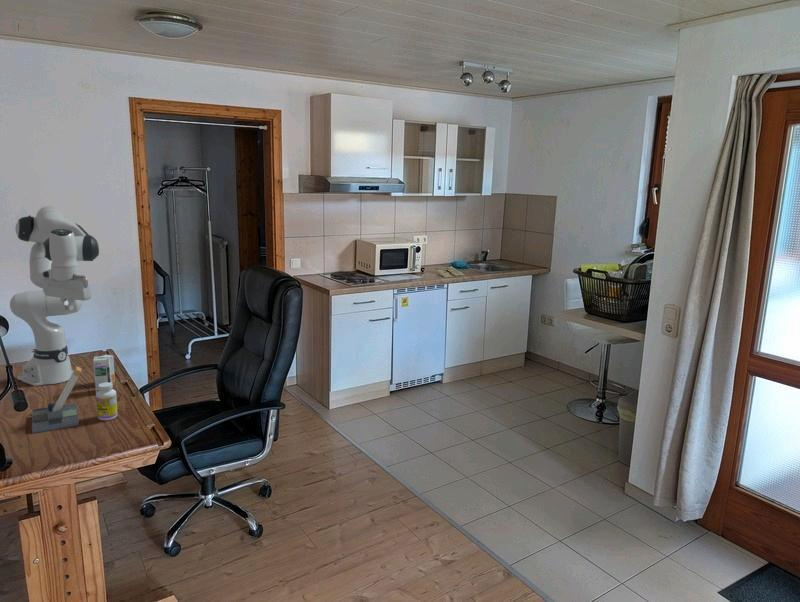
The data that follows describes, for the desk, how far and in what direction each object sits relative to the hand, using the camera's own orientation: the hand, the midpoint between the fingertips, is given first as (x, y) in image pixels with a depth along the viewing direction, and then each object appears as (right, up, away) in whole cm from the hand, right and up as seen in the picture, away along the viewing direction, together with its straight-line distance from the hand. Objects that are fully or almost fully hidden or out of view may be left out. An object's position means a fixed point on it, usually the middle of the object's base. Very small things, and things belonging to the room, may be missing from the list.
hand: (68, 309), depth 217 cm
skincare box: (0, -32, +28) cm, 43 cm away
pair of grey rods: (-5, -38, -1) cm, 38 cm away
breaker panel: (+1, -40, -10) cm, 41 cm away
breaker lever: (+1, -37, -10) cm, 38 cm away
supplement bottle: (+18, -40, -5) cm, 44 cm away
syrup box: (+3, -34, +20) cm, 39 cm away
